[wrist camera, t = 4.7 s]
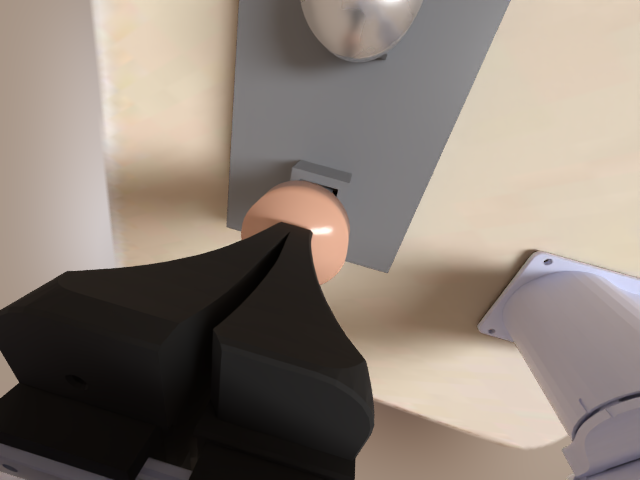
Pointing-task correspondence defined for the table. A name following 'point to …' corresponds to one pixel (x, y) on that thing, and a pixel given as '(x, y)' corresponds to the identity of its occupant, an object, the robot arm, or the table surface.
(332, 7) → the steel plunger
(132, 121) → the table surface
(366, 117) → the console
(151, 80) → the table surface
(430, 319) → the table surface
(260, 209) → the peach knob
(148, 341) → the robot arm
